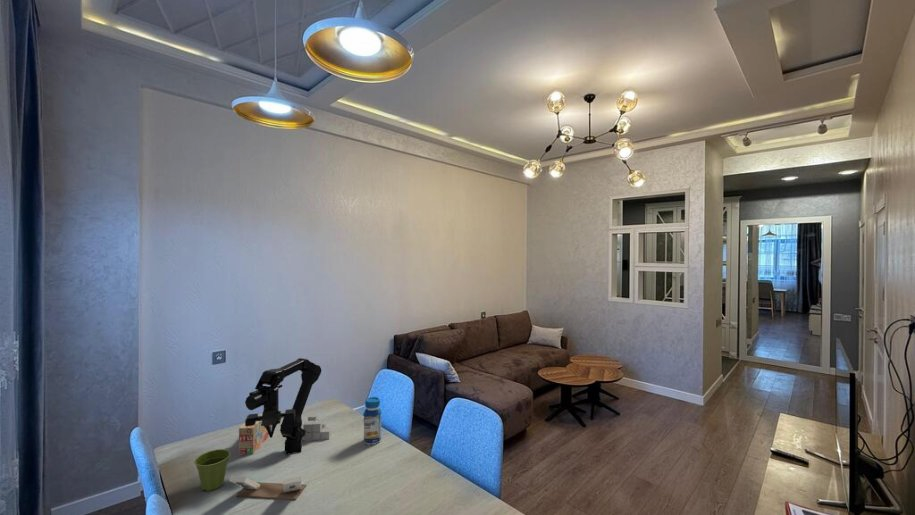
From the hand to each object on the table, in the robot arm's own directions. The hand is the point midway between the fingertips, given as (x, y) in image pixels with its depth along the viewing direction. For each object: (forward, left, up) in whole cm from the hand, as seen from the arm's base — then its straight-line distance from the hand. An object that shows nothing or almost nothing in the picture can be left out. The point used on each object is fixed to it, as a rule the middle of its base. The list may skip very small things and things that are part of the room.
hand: (271, 437), depth 160 cm
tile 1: (-10, +22, -10) cm, 27 cm away
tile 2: (+5, +16, -10) cm, 20 cm away
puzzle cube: (-19, -23, -12) cm, 32 cm away
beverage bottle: (-43, -7, -12) cm, 45 cm away
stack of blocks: (+9, -23, -12) cm, 28 cm away
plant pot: (+19, +8, -12) cm, 24 cm away
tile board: (-3, +19, -12) cm, 23 cm away
